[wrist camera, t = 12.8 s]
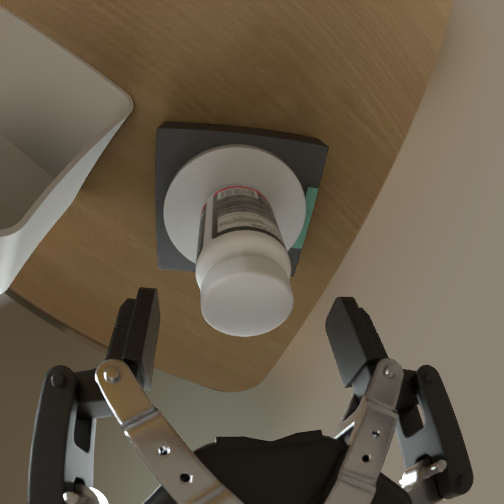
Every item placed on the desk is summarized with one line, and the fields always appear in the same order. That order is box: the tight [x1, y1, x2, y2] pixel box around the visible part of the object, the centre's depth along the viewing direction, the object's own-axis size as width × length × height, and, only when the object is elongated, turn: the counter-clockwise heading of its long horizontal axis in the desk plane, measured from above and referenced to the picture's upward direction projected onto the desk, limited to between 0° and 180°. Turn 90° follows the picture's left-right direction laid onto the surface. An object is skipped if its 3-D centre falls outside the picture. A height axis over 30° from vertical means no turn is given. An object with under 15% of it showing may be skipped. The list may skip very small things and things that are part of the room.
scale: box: [156, 122, 329, 276], centre depth 20 cm, size 11×11×3 cm
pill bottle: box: [196, 185, 293, 336], centre depth 15 cm, size 5×5×8 cm
